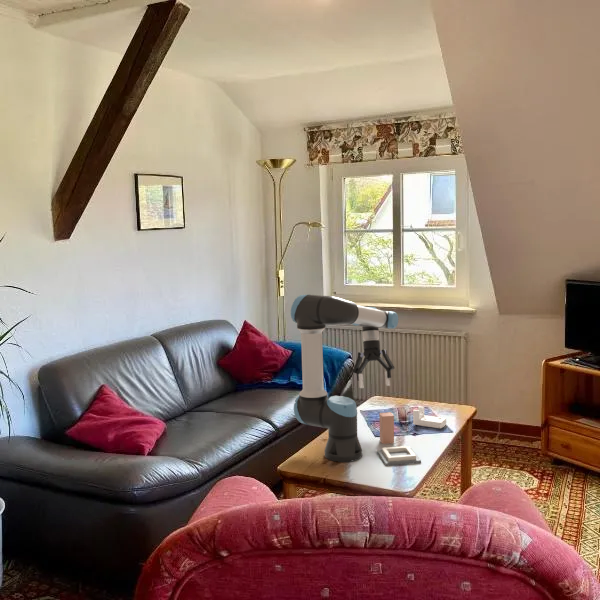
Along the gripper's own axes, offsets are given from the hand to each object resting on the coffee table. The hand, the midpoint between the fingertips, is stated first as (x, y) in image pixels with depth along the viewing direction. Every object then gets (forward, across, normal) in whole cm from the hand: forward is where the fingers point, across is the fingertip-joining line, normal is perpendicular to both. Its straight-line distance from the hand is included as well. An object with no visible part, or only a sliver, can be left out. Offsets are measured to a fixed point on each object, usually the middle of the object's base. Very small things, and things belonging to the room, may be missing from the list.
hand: (374, 387), depth 303 cm
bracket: (+19, -19, -15) cm, 31 cm away
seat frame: (+30, -22, +26) cm, 45 cm away
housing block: (+24, -10, +12) cm, 29 cm away
